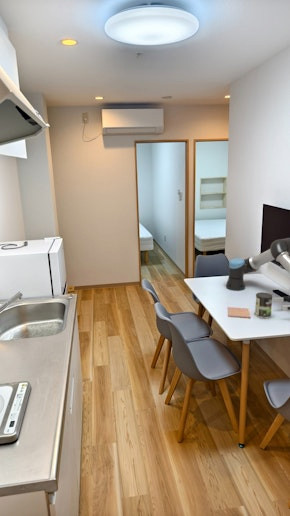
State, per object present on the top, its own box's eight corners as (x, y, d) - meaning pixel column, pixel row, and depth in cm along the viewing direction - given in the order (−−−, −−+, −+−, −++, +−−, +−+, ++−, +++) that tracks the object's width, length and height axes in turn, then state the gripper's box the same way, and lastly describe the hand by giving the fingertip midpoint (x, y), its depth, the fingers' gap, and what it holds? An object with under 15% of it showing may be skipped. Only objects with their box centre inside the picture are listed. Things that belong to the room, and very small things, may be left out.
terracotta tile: (227, 308, 240) (227, 307, 239) (248, 309, 237) (248, 308, 236) (228, 316, 226) (228, 315, 226) (250, 318, 223) (250, 316, 223)
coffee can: (274, 315, 227) (275, 295, 224) (264, 319, 221) (266, 299, 218) (260, 310, 235) (262, 291, 232) (251, 314, 229) (252, 294, 226)
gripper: (318, 316, 216) (285, 317, 215) (300, 301, 240) (270, 302, 239) (320, 304, 214) (286, 305, 213) (301, 291, 238) (271, 291, 237)
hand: (277, 303), depth 226 cm, fingers open, 13 cm apart
